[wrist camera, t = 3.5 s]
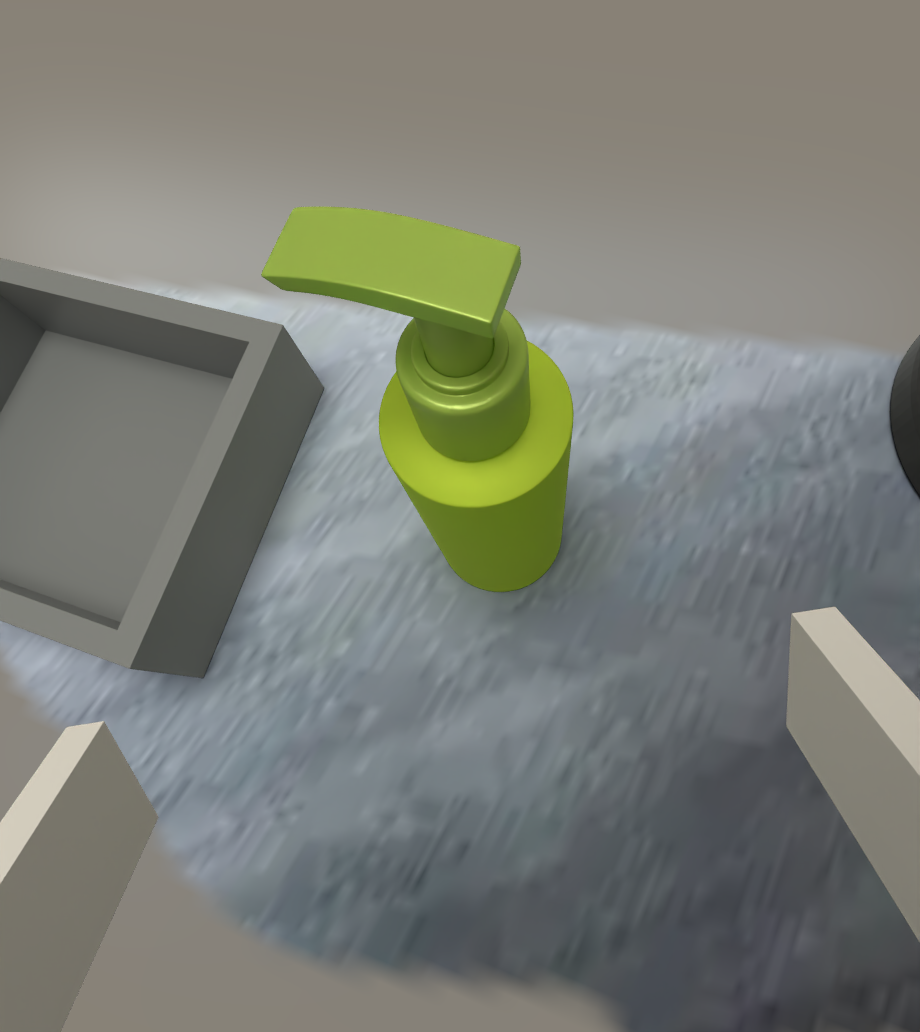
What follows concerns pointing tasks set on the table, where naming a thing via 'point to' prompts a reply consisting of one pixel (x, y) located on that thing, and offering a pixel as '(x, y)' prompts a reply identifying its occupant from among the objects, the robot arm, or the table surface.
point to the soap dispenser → (451, 383)
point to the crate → (137, 463)
